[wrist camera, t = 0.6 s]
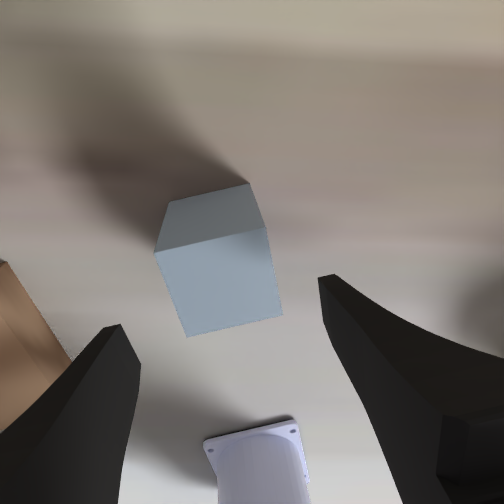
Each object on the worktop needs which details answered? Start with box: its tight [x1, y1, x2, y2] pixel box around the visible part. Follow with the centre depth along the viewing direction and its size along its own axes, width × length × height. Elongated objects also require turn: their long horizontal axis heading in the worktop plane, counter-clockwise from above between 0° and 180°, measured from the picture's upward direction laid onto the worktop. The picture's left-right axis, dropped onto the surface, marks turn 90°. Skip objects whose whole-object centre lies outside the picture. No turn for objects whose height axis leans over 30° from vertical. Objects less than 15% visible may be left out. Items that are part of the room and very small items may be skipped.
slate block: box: [154, 183, 283, 337], centre depth 17 cm, size 4×4×6 cm
